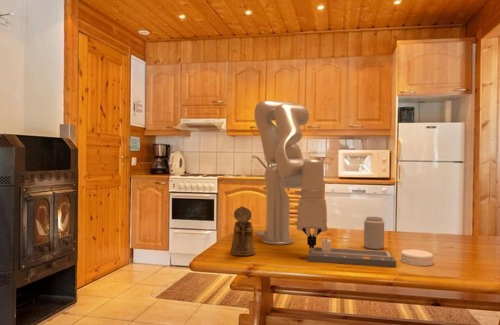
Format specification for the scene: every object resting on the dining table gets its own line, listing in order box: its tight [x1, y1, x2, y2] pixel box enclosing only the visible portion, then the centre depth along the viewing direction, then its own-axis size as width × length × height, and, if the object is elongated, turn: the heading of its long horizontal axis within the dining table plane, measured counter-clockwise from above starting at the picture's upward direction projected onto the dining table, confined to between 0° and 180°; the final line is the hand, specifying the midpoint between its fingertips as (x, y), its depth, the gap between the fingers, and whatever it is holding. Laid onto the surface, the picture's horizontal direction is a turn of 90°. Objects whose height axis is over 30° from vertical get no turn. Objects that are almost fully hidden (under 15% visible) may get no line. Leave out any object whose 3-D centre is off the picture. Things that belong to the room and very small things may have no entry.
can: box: [363, 216, 385, 251], centre depth 148 cm, size 8×8×12 cm
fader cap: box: [321, 237, 332, 252], centre depth 131 cm, size 3×4×4 cm
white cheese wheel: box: [400, 248, 434, 267], centre depth 128 cm, size 10×10×4 cm
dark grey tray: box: [307, 246, 397, 268], centre depth 130 cm, size 28×12×3 cm, turn 78°
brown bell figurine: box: [229, 206, 256, 257], centre depth 134 cm, size 9×14×18 cm, turn 178°
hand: (311, 247), depth 132 cm, fingers closed
